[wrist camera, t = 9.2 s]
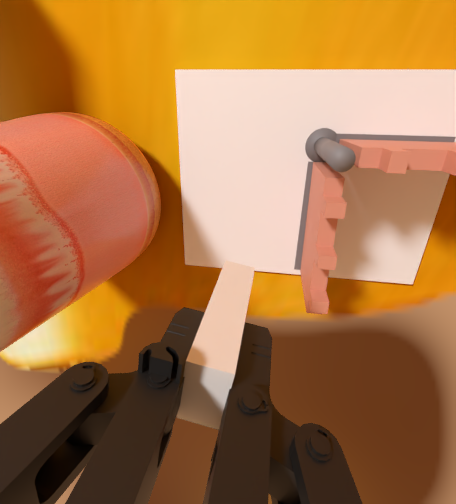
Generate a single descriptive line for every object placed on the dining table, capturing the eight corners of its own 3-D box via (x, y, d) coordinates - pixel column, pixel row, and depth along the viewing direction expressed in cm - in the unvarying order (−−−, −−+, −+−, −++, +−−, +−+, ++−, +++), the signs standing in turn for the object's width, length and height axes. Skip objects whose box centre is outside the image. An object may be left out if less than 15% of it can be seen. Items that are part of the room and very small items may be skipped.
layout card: (481, 70, 21) (485, 69, 21) (411, 282, 29) (413, 284, 29) (176, 70, 24) (174, 69, 24) (186, 263, 32) (184, 265, 32)
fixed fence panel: (482, 141, 23) (588, 155, 15) (475, 160, 23) (574, 182, 16) (315, 136, 24) (333, 147, 17) (312, 154, 25) (329, 172, 17)
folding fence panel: (313, 161, 25) (329, 182, 18) (327, 162, 25) (350, 183, 17) (300, 270, 30) (308, 325, 22) (312, 271, 30) (325, 327, 22)
